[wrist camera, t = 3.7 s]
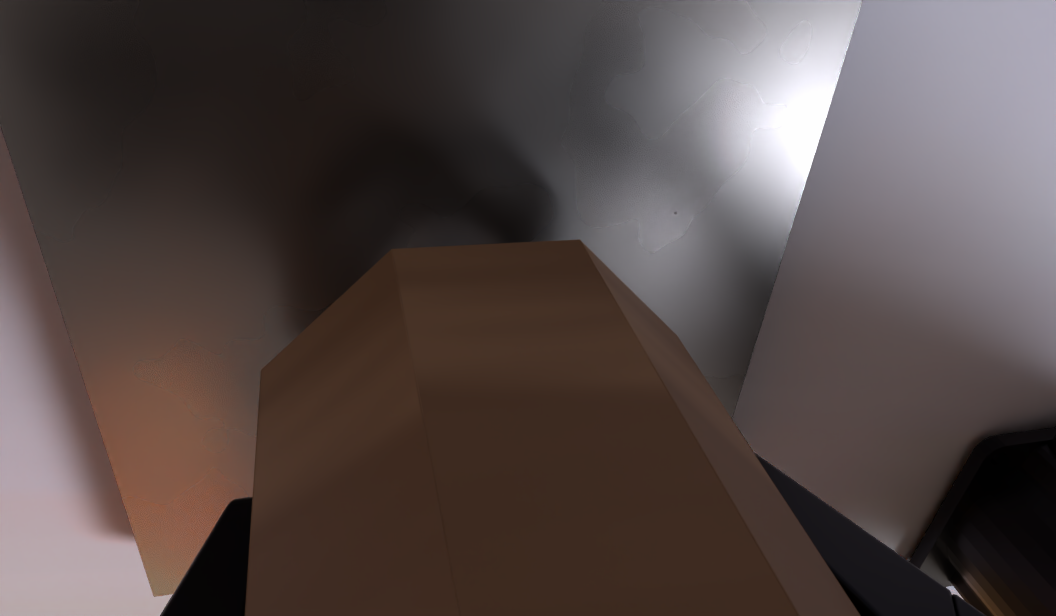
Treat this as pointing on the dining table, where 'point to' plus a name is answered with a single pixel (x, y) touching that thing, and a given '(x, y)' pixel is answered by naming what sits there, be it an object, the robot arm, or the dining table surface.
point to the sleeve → (511, 456)
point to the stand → (384, 184)
